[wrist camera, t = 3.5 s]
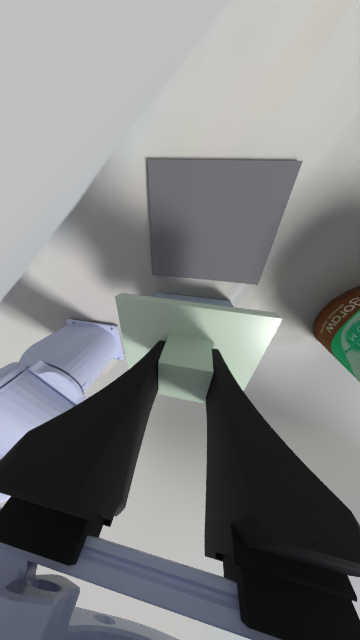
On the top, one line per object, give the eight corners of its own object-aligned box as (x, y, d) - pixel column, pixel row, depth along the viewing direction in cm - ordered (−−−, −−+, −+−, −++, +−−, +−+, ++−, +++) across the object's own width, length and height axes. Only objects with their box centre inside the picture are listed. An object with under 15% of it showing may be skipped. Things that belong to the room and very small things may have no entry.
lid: (132, 365, 13) (111, 401, 10) (121, 293, 9) (81, 315, 6) (240, 384, 12) (252, 431, 9) (276, 312, 8) (319, 351, 5)
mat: (153, 273, 17) (152, 274, 17) (149, 161, 12) (147, 158, 12) (256, 283, 16) (257, 284, 15) (299, 163, 11) (302, 160, 10)
